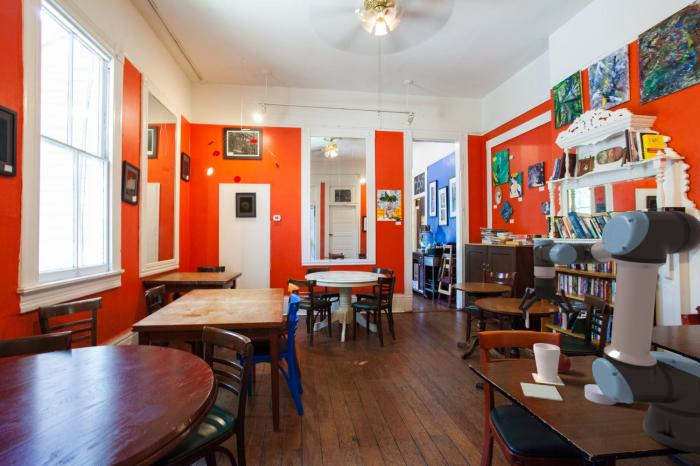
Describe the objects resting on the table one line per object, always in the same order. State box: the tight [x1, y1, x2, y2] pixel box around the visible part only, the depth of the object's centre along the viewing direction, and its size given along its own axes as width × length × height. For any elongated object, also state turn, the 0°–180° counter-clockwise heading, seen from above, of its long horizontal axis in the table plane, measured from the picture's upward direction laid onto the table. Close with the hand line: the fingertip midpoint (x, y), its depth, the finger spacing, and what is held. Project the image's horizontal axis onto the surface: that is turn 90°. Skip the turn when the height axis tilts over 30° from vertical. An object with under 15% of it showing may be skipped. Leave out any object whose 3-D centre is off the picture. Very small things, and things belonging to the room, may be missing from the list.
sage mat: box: [520, 382, 564, 402], centre depth 128 cm, size 12×12×1 cm
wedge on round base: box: [584, 383, 617, 406], centre depth 121 cm, size 9×7×13 cm
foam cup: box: [533, 342, 561, 382], centre depth 139 cm, size 10×9×13 cm
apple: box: [557, 352, 572, 374], centre depth 147 cm, size 8×8×8 cm
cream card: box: [531, 372, 565, 387], centre depth 139 cm, size 10×10×1 cm
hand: (545, 328), depth 140 cm, fingers open, 13 cm apart
